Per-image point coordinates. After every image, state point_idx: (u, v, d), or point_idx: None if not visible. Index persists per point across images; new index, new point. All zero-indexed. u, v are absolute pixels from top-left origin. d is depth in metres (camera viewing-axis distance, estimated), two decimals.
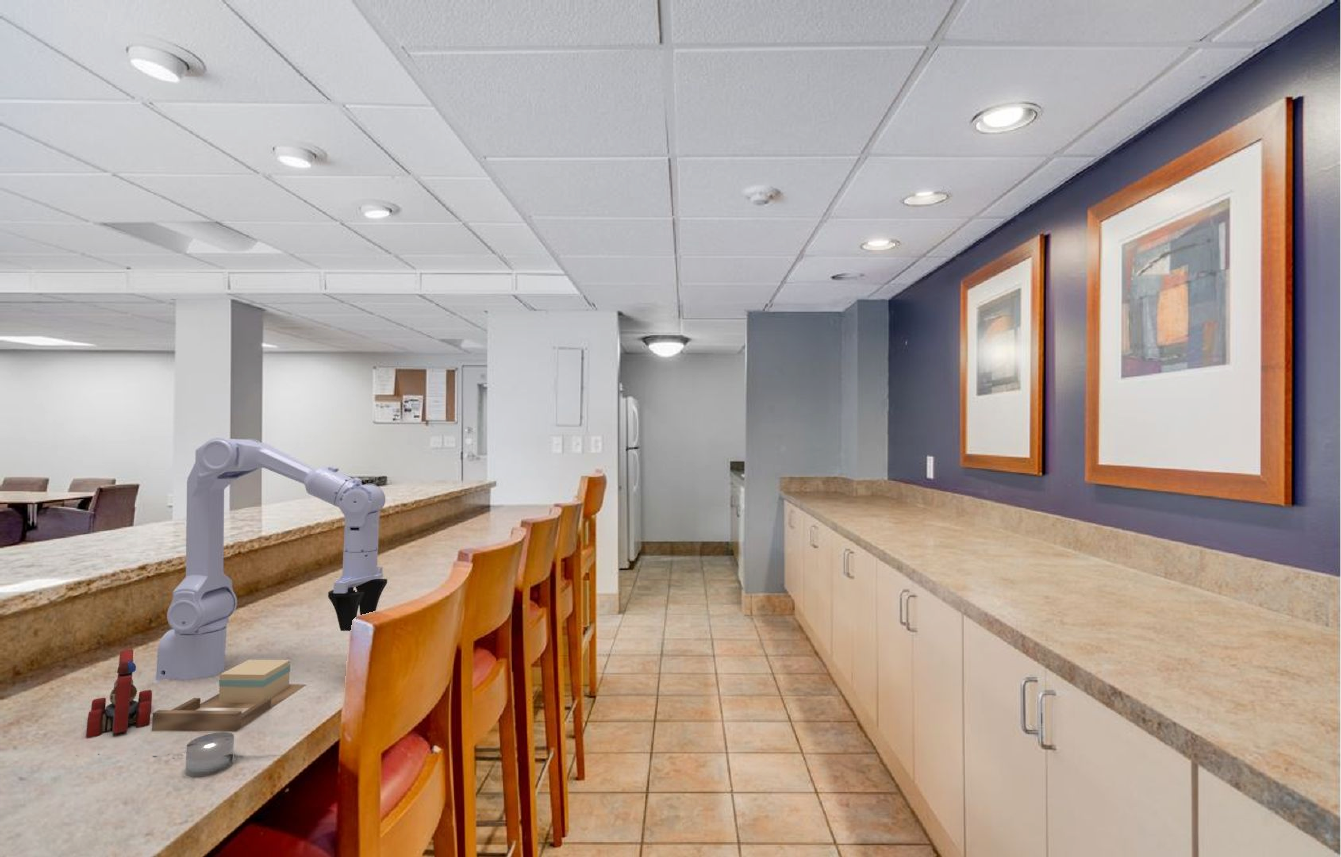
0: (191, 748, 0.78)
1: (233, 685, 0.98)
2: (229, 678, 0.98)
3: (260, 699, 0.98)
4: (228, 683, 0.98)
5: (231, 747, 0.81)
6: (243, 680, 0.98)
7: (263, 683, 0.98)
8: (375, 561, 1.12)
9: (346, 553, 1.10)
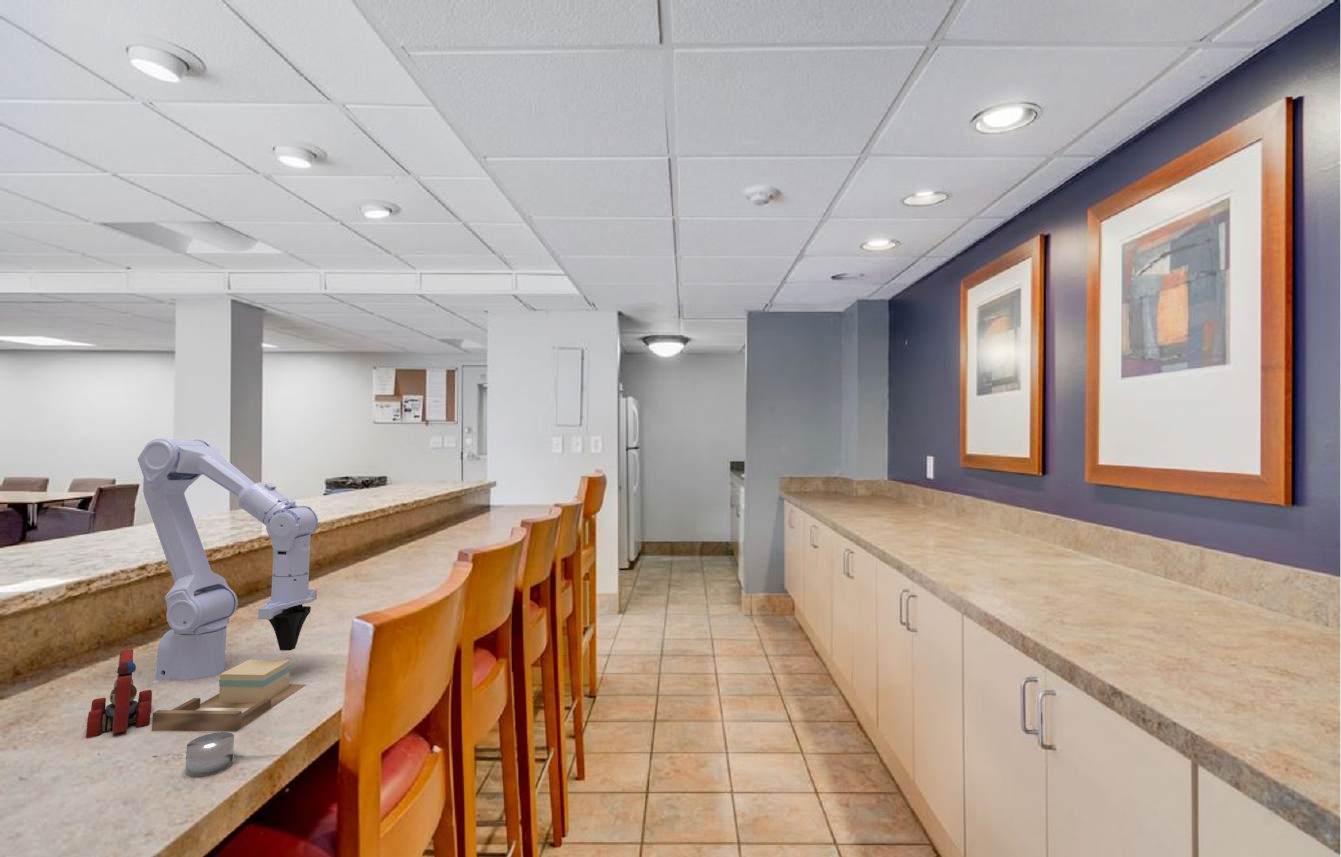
0: (191, 748, 0.78)
1: (233, 685, 0.98)
2: (229, 678, 0.98)
3: (260, 699, 0.98)
4: (228, 683, 0.98)
5: (231, 747, 0.81)
6: (243, 680, 0.98)
7: (263, 683, 0.98)
8: (305, 585, 1.11)
9: (274, 577, 1.08)
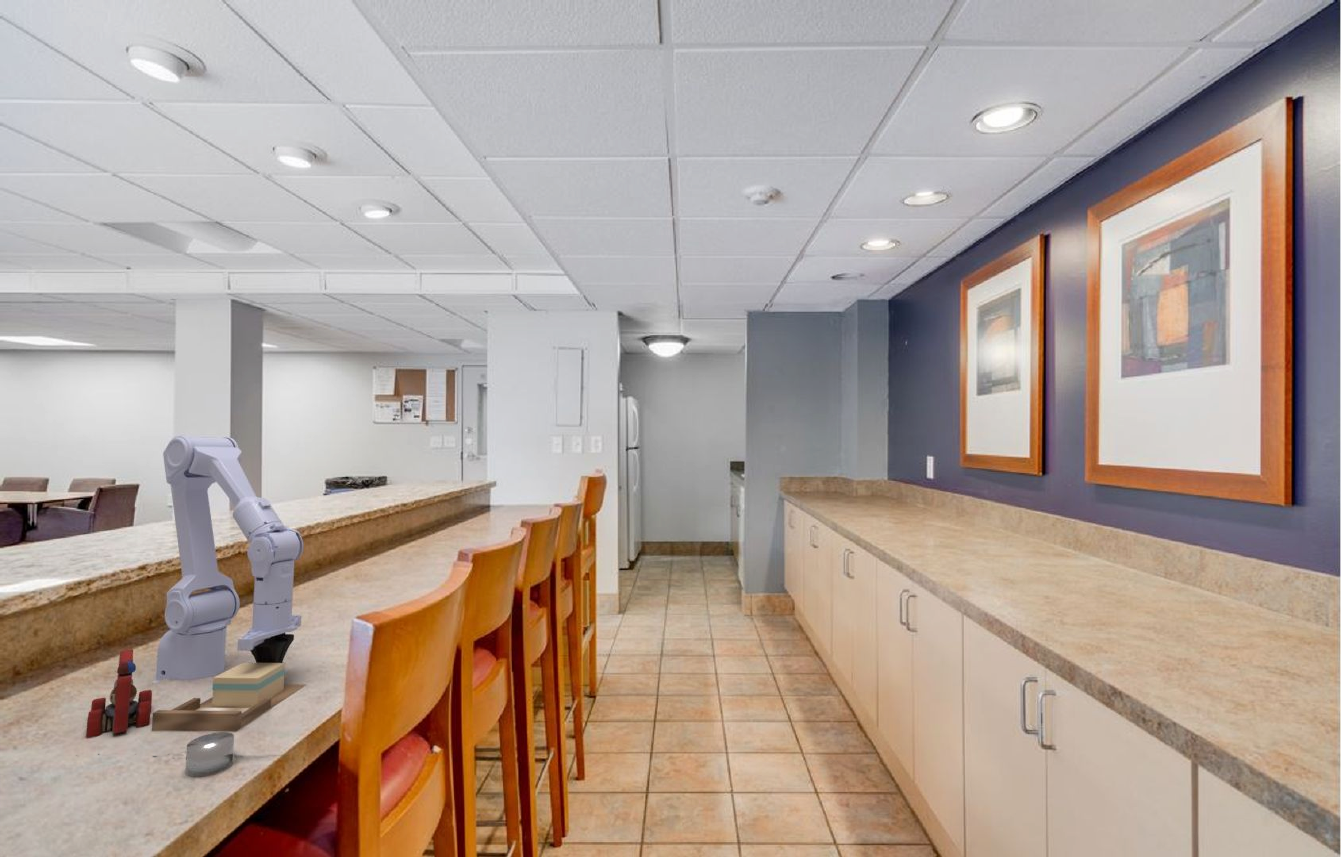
0: (191, 748, 0.78)
1: (227, 689, 0.96)
2: (223, 682, 0.96)
3: (254, 703, 0.96)
4: (222, 687, 0.96)
5: (231, 747, 0.81)
6: (237, 684, 0.96)
7: (257, 686, 0.97)
8: (289, 612, 1.06)
9: (255, 605, 1.03)
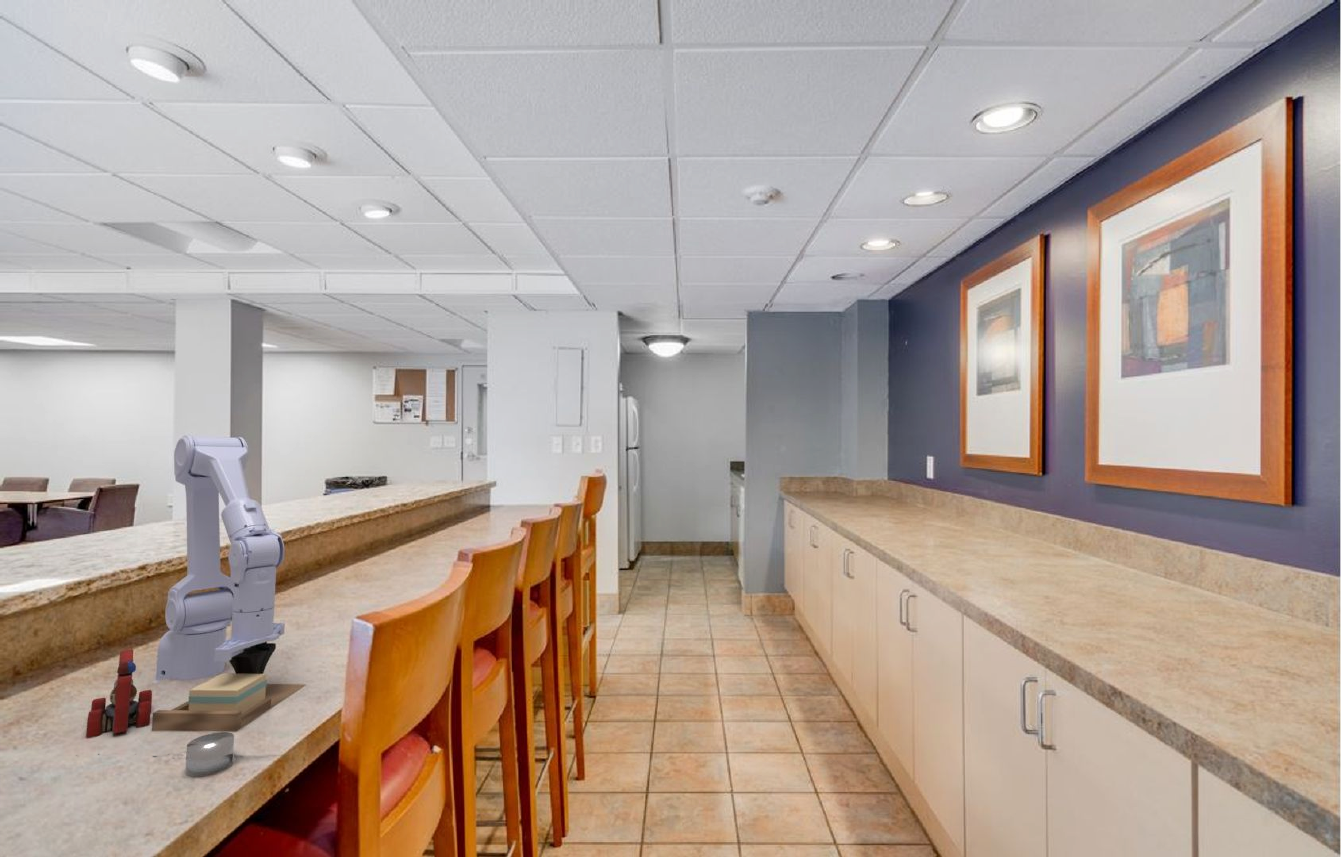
0: (191, 748, 0.78)
1: (203, 702, 0.91)
2: (199, 694, 0.91)
3: None
4: (198, 700, 0.91)
5: (231, 747, 0.81)
6: (214, 696, 0.91)
7: (236, 699, 0.91)
8: (270, 620, 1.00)
9: (234, 613, 0.98)
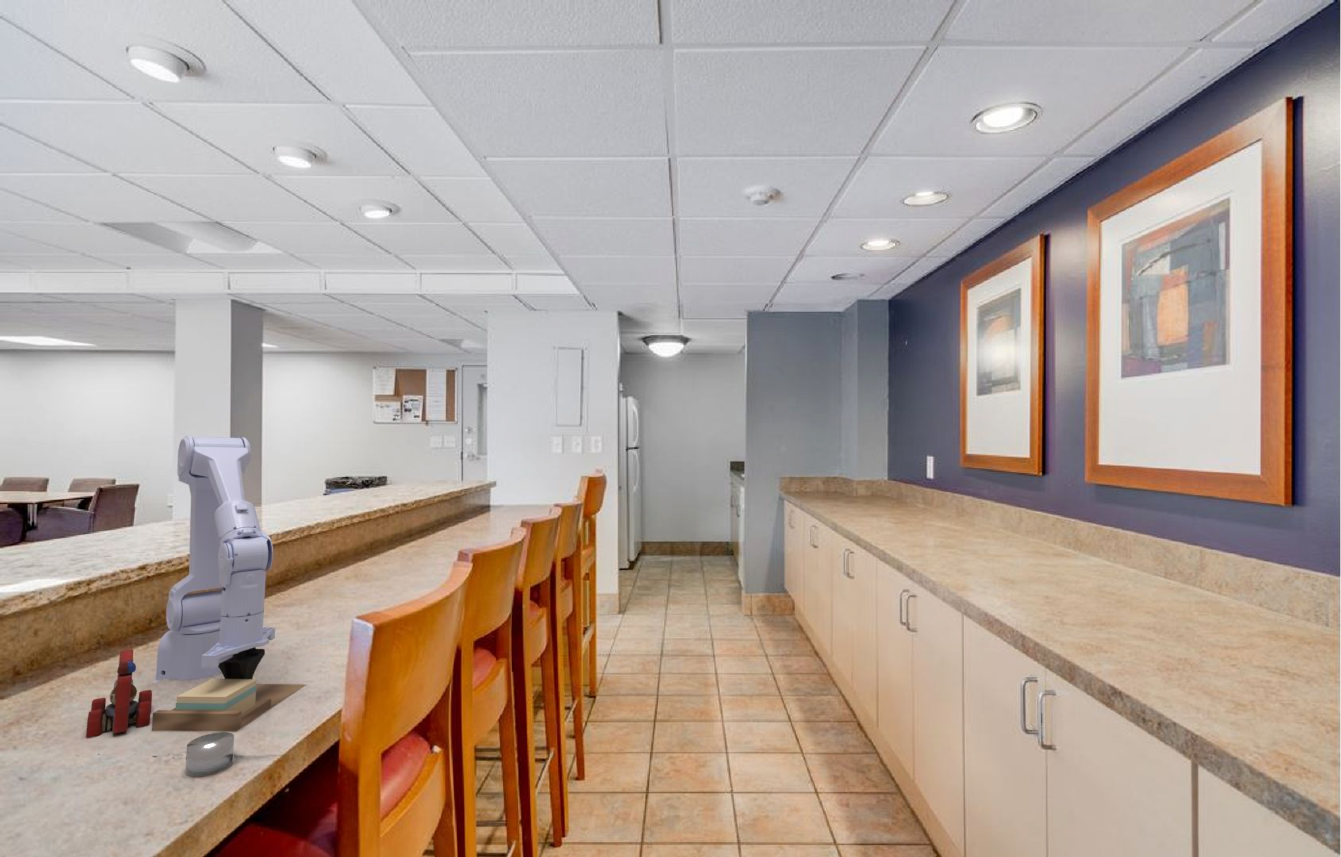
0: (191, 748, 0.78)
1: (191, 708, 0.89)
2: (187, 701, 0.89)
3: None
4: (185, 706, 0.89)
5: (231, 747, 0.81)
6: (202, 703, 0.89)
7: (224, 706, 0.89)
8: (259, 625, 0.98)
9: (223, 618, 0.95)
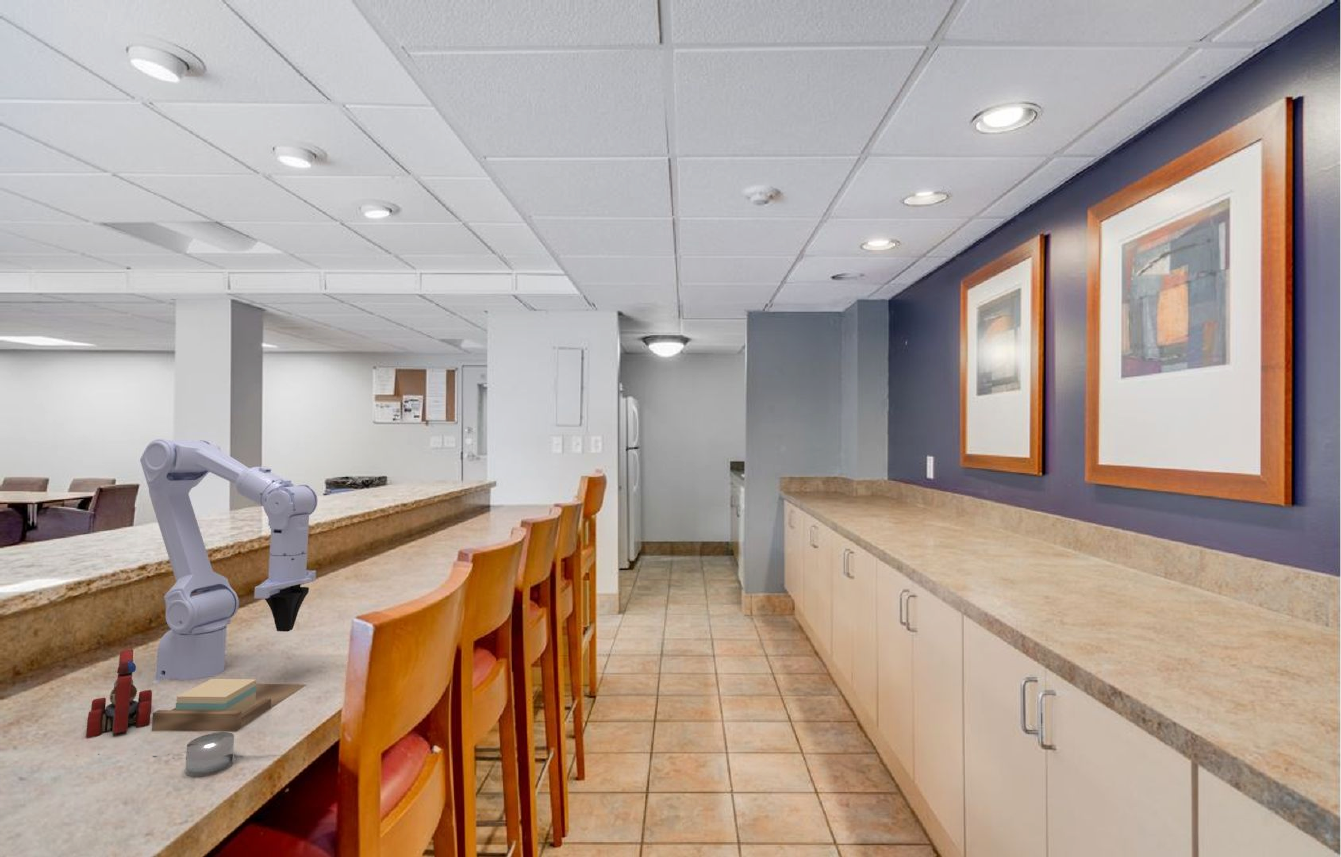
0: (191, 748, 0.78)
1: (191, 708, 0.89)
2: (187, 701, 0.89)
3: None
4: (185, 706, 0.89)
5: (231, 747, 0.81)
6: (202, 703, 0.89)
7: (224, 706, 0.89)
8: (303, 565, 1.08)
9: (271, 557, 1.06)
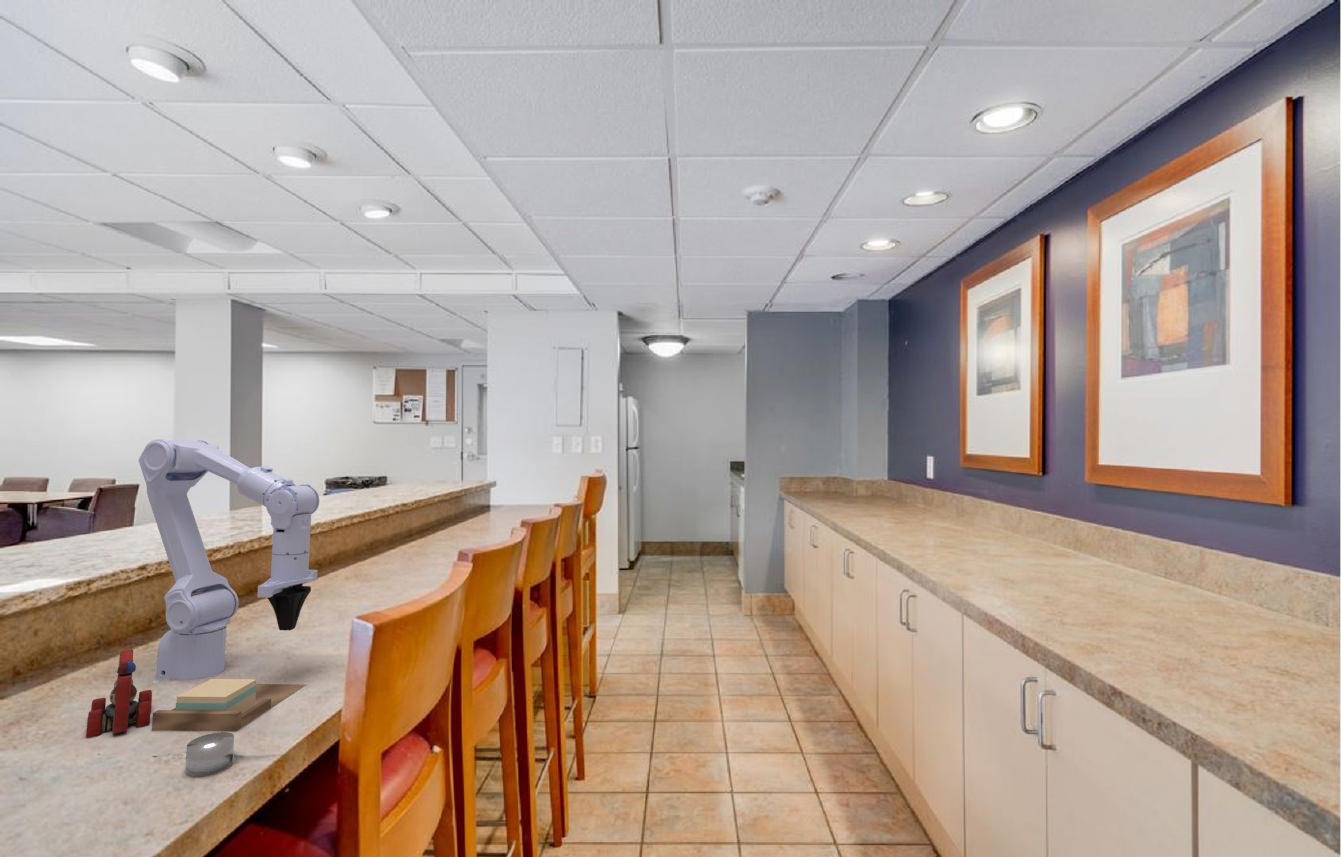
0: (191, 748, 0.78)
1: (191, 708, 0.89)
2: (187, 701, 0.89)
3: None
4: (185, 706, 0.89)
5: (231, 747, 0.81)
6: (202, 703, 0.89)
7: (224, 706, 0.89)
8: (306, 564, 1.09)
9: (274, 556, 1.06)
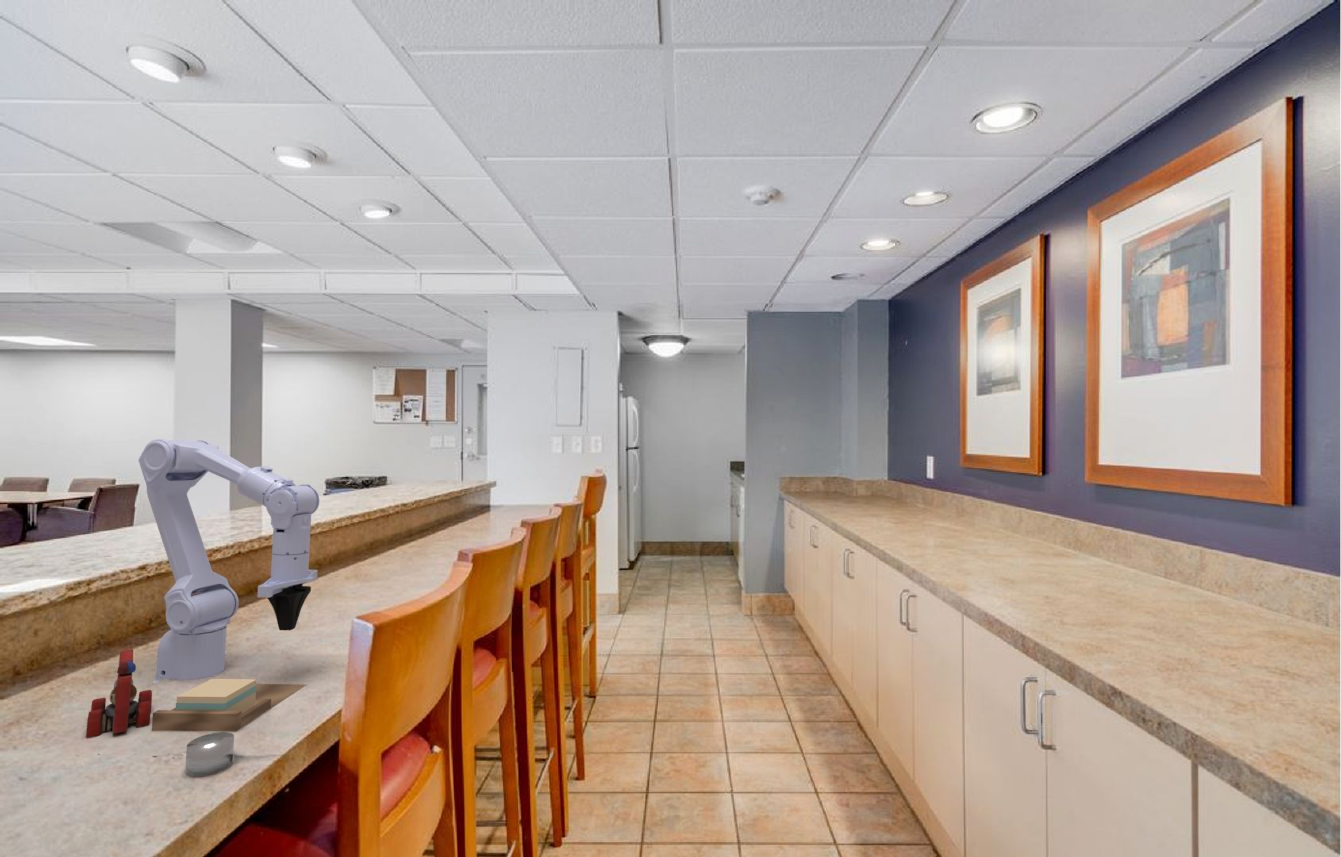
0: (191, 748, 0.78)
1: (191, 708, 0.89)
2: (187, 701, 0.89)
3: None
4: (185, 706, 0.89)
5: (231, 747, 0.81)
6: (202, 703, 0.89)
7: (224, 706, 0.89)
8: (306, 564, 1.09)
9: (274, 556, 1.06)
